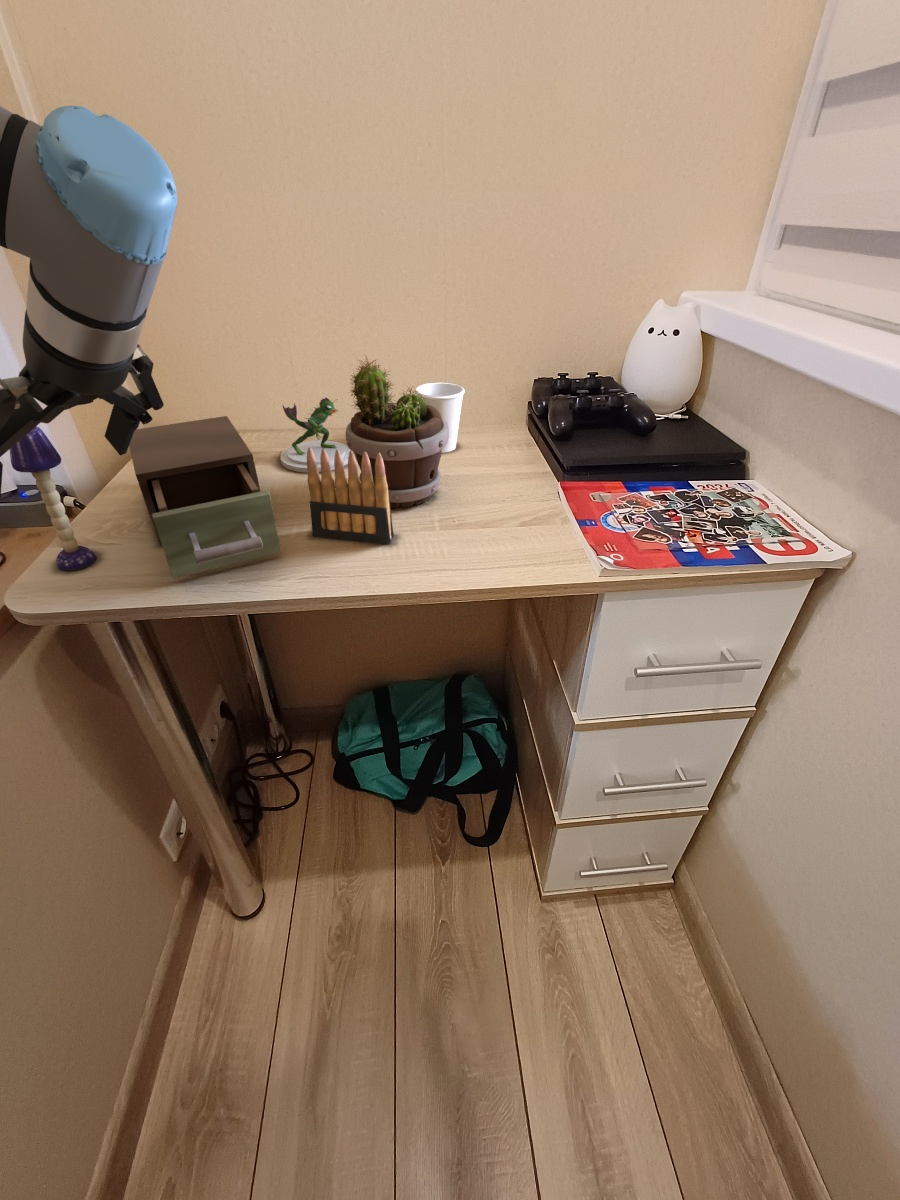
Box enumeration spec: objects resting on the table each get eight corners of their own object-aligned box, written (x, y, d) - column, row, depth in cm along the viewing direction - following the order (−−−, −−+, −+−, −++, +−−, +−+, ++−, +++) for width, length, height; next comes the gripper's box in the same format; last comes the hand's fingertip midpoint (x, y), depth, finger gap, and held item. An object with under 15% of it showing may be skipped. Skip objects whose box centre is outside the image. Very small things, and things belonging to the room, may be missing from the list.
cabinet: (266, 521, 79) (252, 453, 73) (159, 545, 74) (135, 474, 68) (240, 476, 91) (226, 415, 85) (147, 494, 86) (125, 430, 80)
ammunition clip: (394, 537, 76) (388, 450, 69) (390, 544, 74) (384, 456, 67) (317, 529, 77) (304, 443, 70) (312, 536, 76) (298, 449, 69)
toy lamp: (88, 547, 73) (33, 418, 63) (109, 558, 71) (55, 426, 61) (50, 564, 70) (-14, 431, 60) (71, 576, 68) (8, 440, 58)
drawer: (294, 575, 67) (283, 515, 62) (180, 605, 62) (158, 542, 57) (252, 501, 82) (241, 448, 77) (158, 521, 77) (139, 466, 72)
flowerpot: (455, 475, 92) (456, 342, 80) (439, 520, 79) (438, 371, 68) (367, 470, 93) (356, 338, 82) (339, 513, 81) (320, 365, 69)
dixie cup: (443, 459, 97) (443, 400, 91) (406, 447, 101) (404, 390, 95) (472, 445, 102) (474, 388, 96) (437, 434, 106) (436, 379, 101)
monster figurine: (345, 473, 92) (338, 409, 86) (272, 472, 93) (260, 408, 87) (358, 445, 102) (352, 387, 96) (291, 444, 102) (282, 385, 96)
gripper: (184, 270, 54) (138, 404, 69) (-144, 312, 37) (-110, 477, 52) (236, 338, 55) (178, 455, 70) (-62, 409, 38) (-52, 544, 53)
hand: (56, 465), depth 61 cm, fingers open, 13 cm apart
